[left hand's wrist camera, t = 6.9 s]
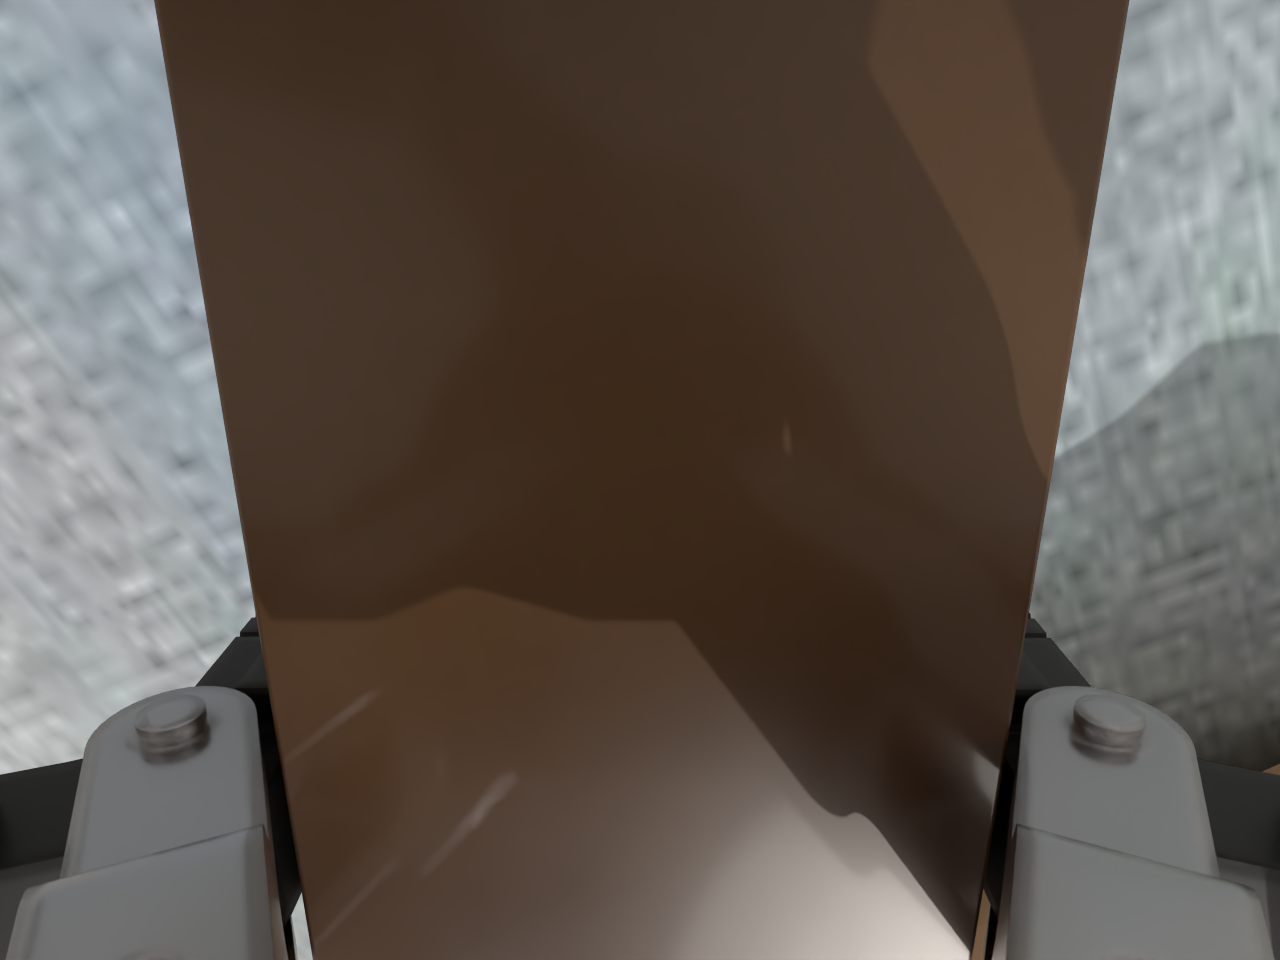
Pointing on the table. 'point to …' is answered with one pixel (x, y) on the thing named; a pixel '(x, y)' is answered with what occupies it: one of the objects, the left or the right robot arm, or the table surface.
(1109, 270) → the table surface
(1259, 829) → the left robot arm
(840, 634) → the box
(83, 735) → the table surface
